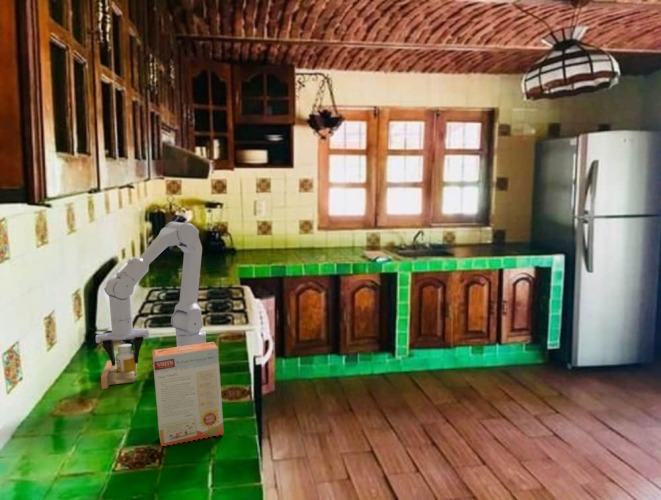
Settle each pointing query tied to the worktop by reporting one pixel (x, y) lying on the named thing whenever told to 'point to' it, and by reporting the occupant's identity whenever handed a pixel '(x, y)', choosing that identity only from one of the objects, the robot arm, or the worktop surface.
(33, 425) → the worktop surface
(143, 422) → the worktop surface
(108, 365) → the rail
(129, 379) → the slot block
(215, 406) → the cracker box
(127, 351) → the supplement bottle
